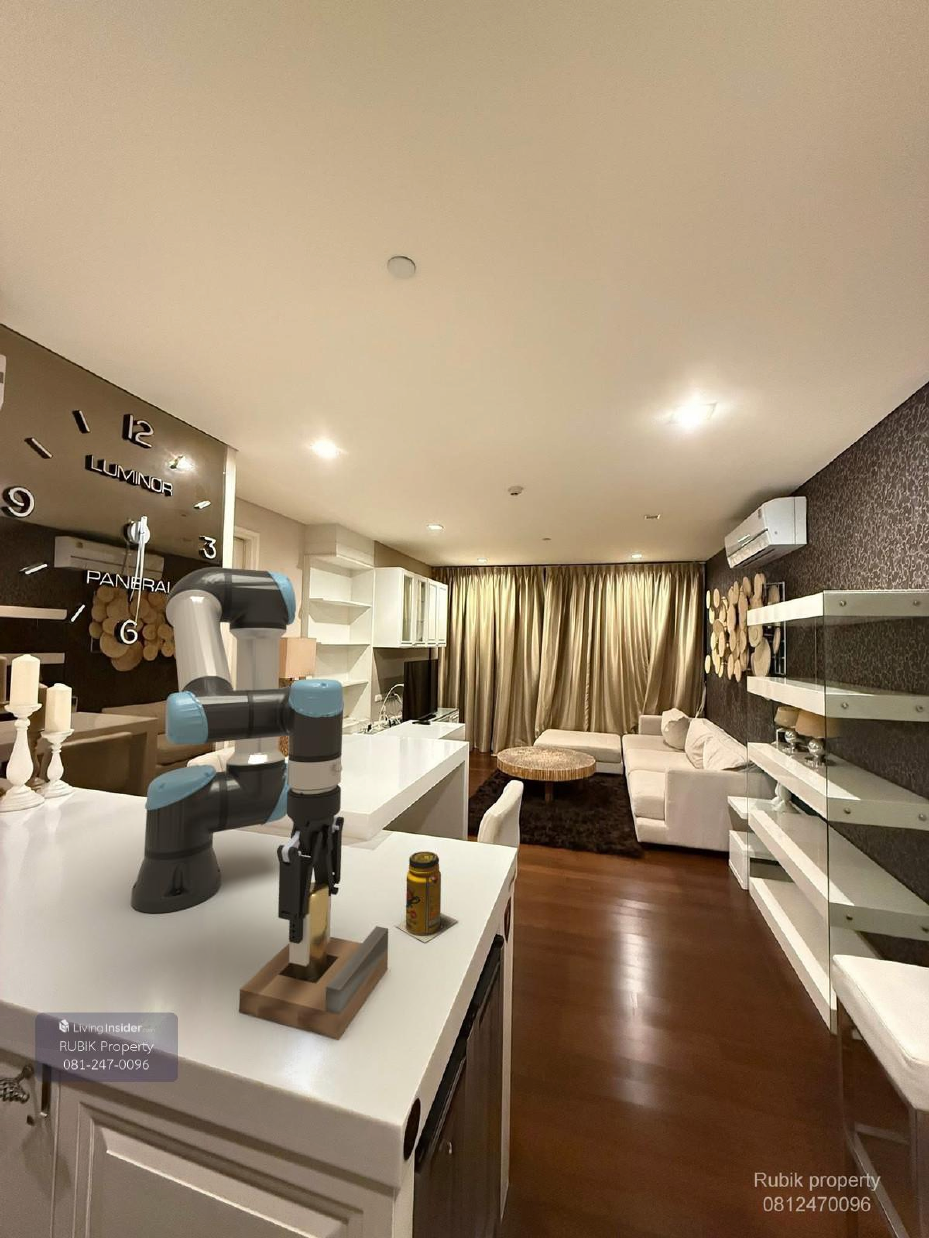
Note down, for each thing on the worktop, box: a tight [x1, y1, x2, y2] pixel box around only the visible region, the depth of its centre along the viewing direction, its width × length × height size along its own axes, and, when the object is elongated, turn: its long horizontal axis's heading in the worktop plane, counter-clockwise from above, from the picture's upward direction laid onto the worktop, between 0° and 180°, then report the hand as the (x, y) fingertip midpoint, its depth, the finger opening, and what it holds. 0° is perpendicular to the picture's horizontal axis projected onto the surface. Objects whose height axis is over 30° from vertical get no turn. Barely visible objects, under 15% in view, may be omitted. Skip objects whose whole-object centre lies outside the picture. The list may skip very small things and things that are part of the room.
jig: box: [238, 925, 389, 1040], centre depth 71 cm, size 15×14×6 cm
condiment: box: [395, 851, 459, 943], centre depth 88 cm, size 7×8×12 cm
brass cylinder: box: [293, 881, 329, 984], centre depth 71 cm, size 5×5×12 cm
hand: (310, 950), depth 71 cm, fingers closed on brass cylinder, 4 cm apart
